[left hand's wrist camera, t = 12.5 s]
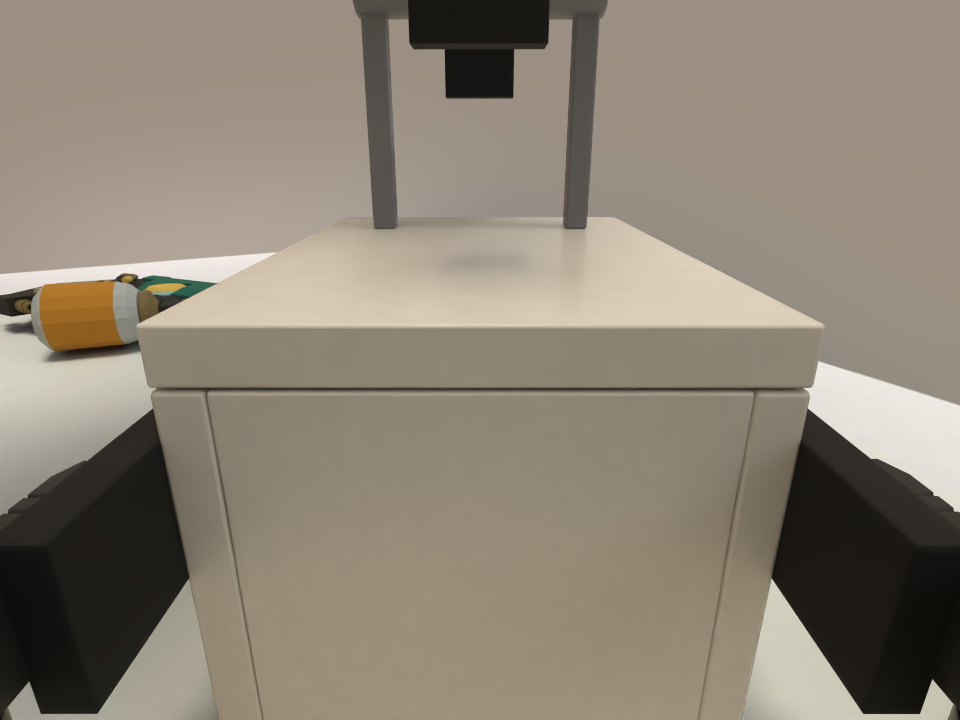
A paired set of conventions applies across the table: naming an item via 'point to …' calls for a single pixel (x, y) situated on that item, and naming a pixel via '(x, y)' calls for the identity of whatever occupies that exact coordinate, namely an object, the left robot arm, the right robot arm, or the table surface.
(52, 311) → the spray gun
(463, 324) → the lid
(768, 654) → the table surface
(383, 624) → the chest
